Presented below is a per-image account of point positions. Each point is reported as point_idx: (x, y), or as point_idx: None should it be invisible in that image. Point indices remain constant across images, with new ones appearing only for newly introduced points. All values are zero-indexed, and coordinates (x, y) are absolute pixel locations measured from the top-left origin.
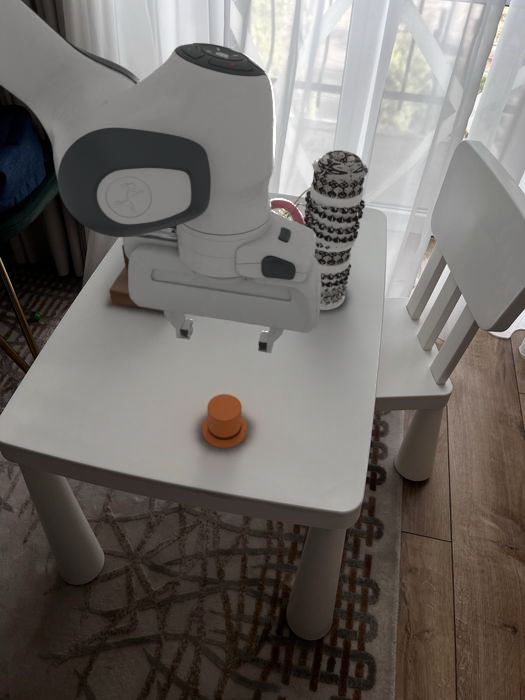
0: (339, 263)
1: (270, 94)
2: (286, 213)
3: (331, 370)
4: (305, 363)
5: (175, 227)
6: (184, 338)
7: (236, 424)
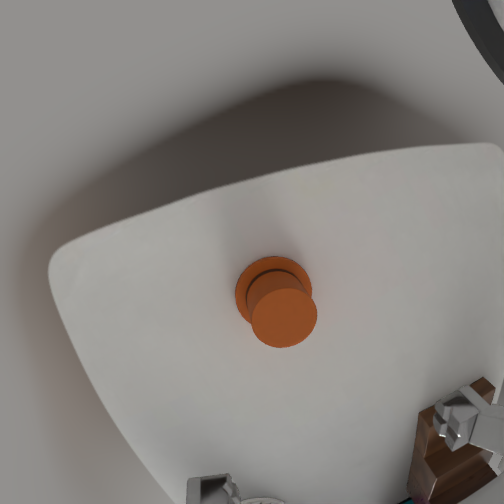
0: None
1: None
2: None
3: (182, 444)
4: (220, 441)
5: (452, 490)
6: (450, 396)
7: (250, 301)
